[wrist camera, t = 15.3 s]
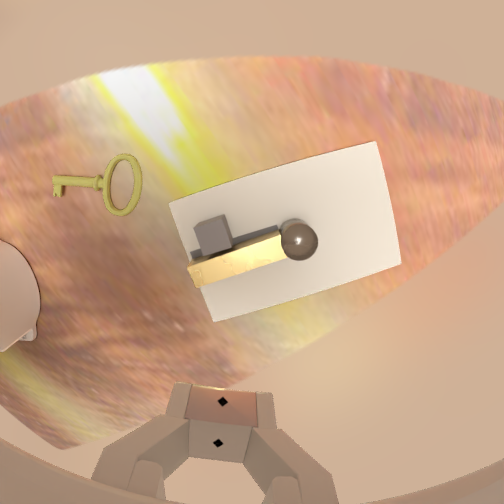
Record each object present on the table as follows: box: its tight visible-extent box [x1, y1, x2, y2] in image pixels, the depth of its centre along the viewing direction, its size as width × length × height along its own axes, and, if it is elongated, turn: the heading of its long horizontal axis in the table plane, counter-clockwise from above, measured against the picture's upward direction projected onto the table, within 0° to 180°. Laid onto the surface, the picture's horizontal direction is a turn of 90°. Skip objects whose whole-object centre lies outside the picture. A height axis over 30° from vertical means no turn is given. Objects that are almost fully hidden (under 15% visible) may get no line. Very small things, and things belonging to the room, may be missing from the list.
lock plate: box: [168, 141, 401, 322], centre depth 32 cm, size 24×15×4 cm, turn 108°
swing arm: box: [187, 218, 318, 288], centre depth 32 cm, size 13×4×4 cm, turn 109°
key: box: [52, 154, 142, 216], centre depth 32 cm, size 7×12×2 cm, turn 99°
